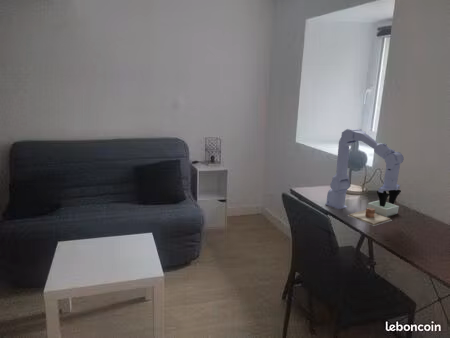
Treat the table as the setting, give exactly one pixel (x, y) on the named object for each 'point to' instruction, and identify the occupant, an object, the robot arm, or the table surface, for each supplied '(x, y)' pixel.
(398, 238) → the table surface
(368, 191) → the table surface
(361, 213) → the lid
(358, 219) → the mat
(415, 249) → the table surface
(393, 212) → the open box
